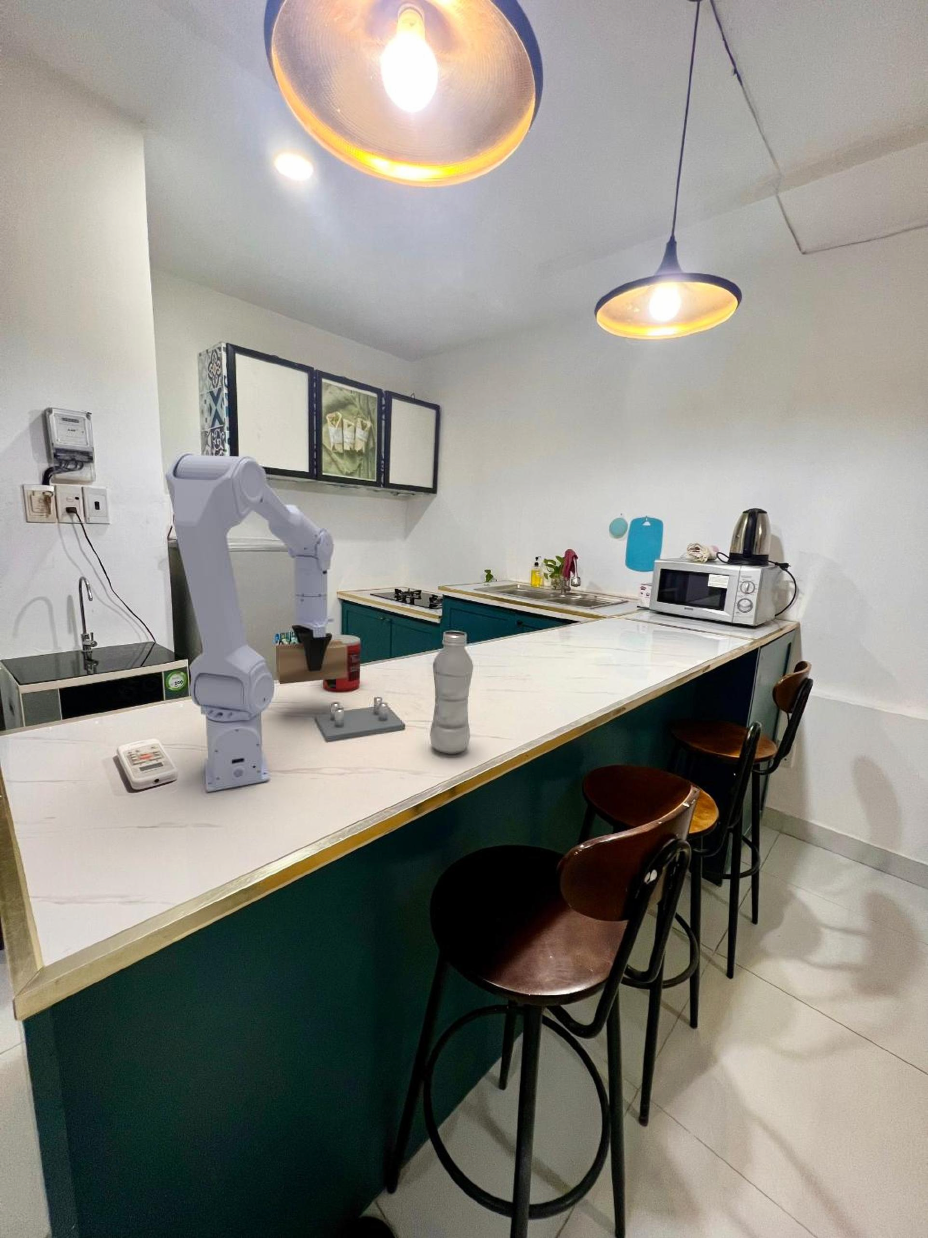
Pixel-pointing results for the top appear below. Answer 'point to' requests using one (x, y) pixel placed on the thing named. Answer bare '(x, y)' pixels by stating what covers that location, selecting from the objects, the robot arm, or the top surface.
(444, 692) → the plastic bottle
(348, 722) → the peg stand
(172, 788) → the top surface
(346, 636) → the canned food
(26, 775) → the top surface
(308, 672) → the shelf block
